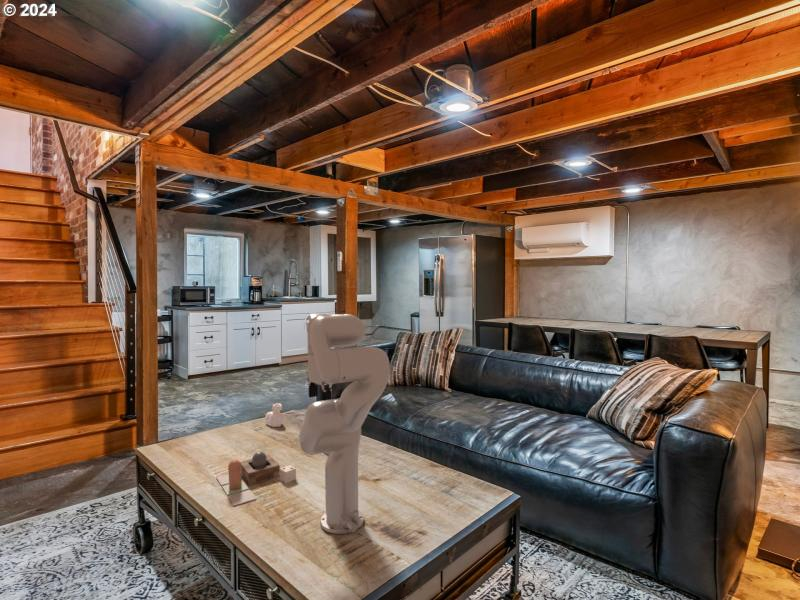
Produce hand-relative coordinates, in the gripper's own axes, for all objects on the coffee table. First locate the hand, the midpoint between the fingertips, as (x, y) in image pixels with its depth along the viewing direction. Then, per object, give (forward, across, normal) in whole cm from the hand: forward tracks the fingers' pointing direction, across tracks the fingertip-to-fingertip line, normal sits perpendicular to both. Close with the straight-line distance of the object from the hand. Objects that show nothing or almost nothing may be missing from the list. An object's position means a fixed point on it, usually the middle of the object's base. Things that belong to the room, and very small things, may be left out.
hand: (319, 399), depth 148 cm
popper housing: (+30, +21, +14) cm, 39 cm away
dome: (+27, +21, +14) cm, 37 cm away
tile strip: (+30, +16, +24) cm, 41 cm away
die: (+30, +11, +7) cm, 33 cm away
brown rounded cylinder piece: (+29, +16, +24) cm, 41 cm away
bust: (+29, +68, -10) cm, 74 cm away
